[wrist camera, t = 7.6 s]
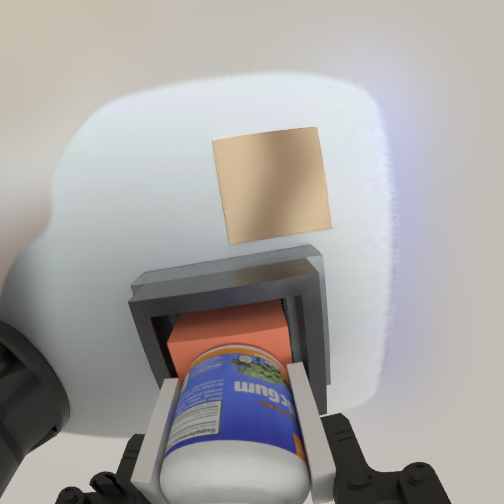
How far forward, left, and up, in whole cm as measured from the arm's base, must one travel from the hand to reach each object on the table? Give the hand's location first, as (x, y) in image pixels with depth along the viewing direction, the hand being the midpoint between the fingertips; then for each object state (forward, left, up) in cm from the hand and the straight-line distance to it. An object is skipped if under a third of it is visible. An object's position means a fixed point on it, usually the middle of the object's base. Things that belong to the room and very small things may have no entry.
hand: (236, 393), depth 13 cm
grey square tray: (0, 0, -8) cm, 8 cm away
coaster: (+4, +9, -8) cm, 13 cm away
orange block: (0, 0, -6) cm, 6 cm away
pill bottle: (0, 0, -1) cm, 1 cm away
